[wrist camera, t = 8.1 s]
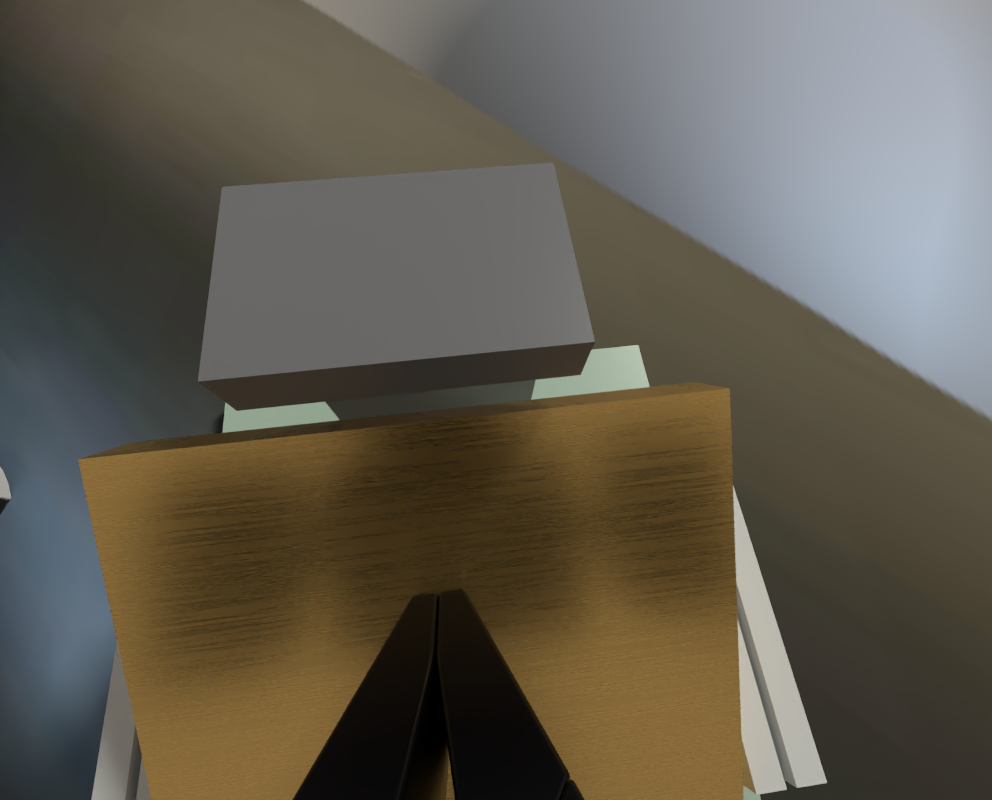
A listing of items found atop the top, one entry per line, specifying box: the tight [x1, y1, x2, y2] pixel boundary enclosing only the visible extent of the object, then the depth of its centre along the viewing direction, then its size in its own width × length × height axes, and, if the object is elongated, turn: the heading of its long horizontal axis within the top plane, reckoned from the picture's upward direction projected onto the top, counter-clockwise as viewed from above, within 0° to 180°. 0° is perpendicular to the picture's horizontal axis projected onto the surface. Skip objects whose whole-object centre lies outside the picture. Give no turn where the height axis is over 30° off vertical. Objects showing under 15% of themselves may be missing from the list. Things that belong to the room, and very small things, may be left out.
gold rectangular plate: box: [78, 382, 744, 800], centre depth 9 cm, size 1×10×13 cm
